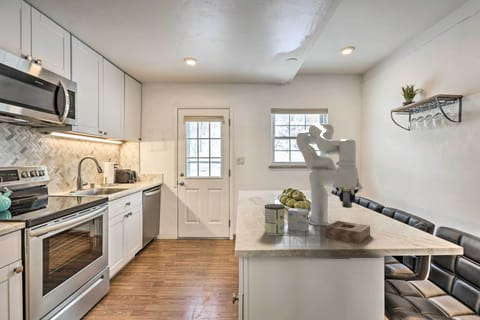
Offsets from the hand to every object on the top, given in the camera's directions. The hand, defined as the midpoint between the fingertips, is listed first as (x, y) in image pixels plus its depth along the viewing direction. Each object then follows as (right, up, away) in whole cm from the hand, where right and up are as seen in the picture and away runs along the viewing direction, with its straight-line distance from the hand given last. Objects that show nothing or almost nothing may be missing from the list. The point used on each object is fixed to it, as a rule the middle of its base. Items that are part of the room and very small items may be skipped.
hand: (347, 201), depth 130 cm
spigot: (0, -3, 0) cm, 3 cm away
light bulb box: (-21, -18, +13) cm, 30 cm away
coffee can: (-35, -18, +7) cm, 40 cm away
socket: (0, -17, 0) cm, 17 cm away
